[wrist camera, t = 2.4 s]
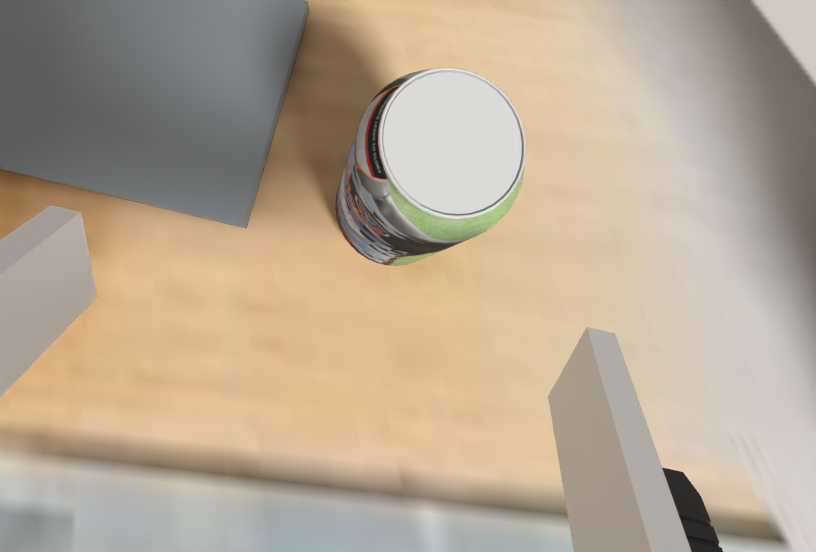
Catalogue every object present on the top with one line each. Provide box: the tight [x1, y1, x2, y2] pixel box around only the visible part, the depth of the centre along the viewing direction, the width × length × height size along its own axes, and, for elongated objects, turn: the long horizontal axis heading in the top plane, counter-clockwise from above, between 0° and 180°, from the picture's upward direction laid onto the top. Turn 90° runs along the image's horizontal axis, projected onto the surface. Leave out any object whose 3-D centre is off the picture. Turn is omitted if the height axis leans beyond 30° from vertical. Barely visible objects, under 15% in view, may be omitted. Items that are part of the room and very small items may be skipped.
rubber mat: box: [0, 0, 309, 228], centre depth 27 cm, size 16×13×1 cm
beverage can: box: [336, 68, 526, 266], centre depth 22 cm, size 6×7×12 cm
